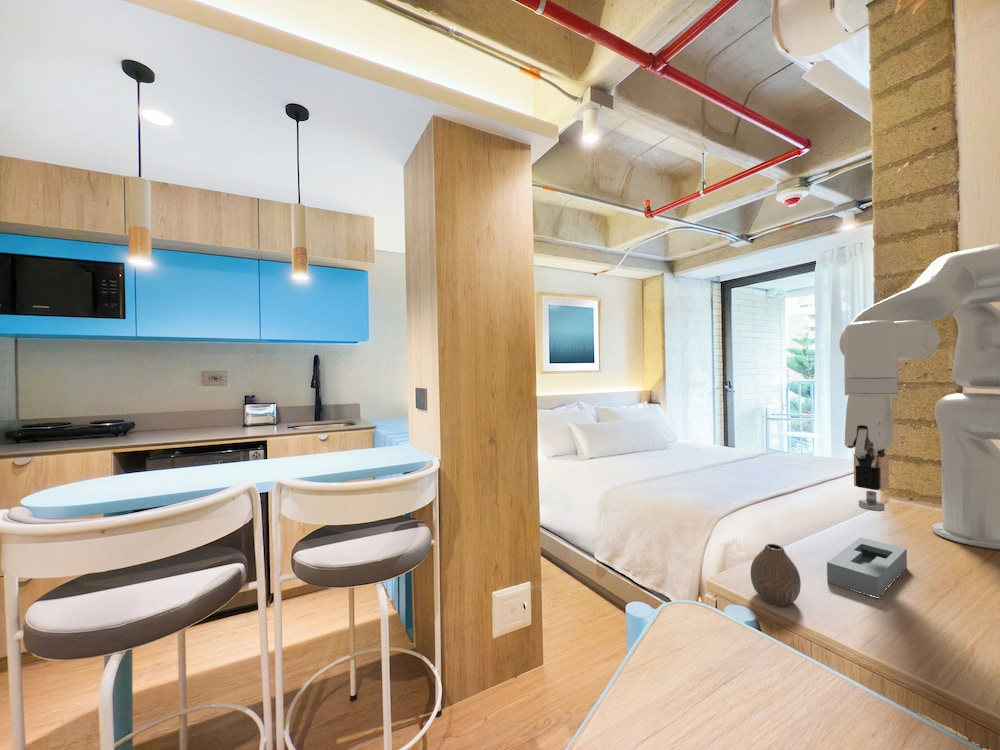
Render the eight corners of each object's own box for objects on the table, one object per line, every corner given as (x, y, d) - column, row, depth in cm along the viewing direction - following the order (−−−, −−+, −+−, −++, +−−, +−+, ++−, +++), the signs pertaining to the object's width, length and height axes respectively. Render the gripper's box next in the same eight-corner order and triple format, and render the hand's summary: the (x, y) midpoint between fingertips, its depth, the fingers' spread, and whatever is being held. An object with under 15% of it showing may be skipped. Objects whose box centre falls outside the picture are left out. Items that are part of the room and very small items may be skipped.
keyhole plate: (860, 555, 84) (860, 537, 84) (906, 567, 78) (906, 548, 78) (827, 582, 73) (827, 562, 73) (877, 599, 68) (877, 577, 68)
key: (861, 503, 80) (860, 451, 80) (888, 508, 77) (888, 454, 77) (854, 507, 78) (853, 454, 78) (882, 513, 74) (882, 457, 74)
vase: (795, 593, 70) (795, 541, 70) (805, 615, 64) (804, 558, 64) (748, 585, 73) (747, 535, 73) (753, 605, 67) (752, 551, 67)
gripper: (859, 386, 85) (860, 475, 85) (829, 388, 75) (830, 489, 76) (910, 387, 79) (911, 483, 79) (884, 389, 69) (885, 499, 69)
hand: (871, 485), depth 77 cm, fingers closed on key, 4 cm apart
